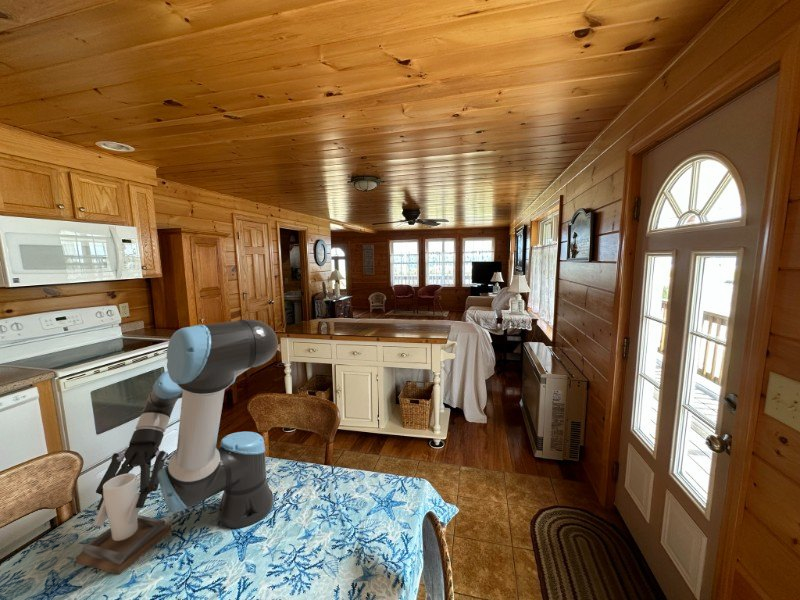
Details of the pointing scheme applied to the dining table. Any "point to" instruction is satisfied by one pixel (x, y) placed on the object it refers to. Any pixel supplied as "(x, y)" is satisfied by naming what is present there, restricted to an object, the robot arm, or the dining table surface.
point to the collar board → (123, 546)
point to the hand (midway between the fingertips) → (113, 524)
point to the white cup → (120, 504)
